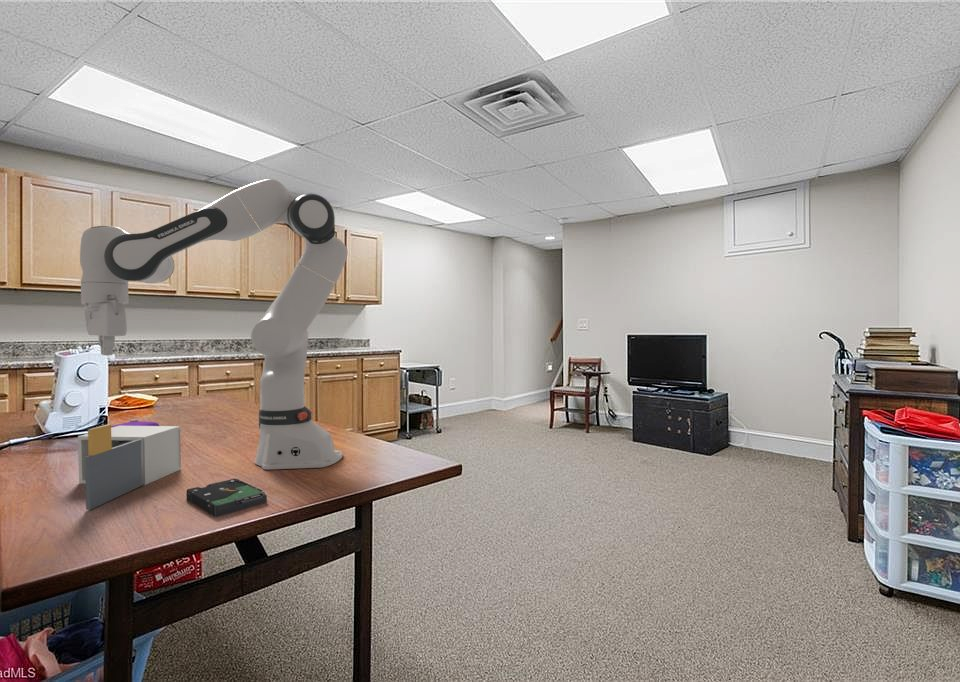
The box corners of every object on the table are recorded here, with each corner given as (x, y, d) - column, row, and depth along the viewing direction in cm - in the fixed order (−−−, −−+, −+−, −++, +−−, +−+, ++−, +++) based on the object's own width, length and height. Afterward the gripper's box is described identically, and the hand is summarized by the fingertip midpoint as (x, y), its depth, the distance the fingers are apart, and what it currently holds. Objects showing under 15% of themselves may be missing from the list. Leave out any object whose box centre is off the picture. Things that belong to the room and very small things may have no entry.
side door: (140, 484, 111) (138, 415, 110) (144, 484, 111) (143, 415, 110) (85, 509, 96) (83, 430, 95) (90, 509, 96) (88, 430, 95)
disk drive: (185, 502, 102) (215, 519, 92) (184, 489, 102) (215, 505, 92) (235, 489, 110) (268, 504, 100) (235, 477, 110) (268, 490, 100)
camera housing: (183, 468, 124) (182, 425, 124) (145, 484, 111) (144, 437, 111) (123, 467, 125) (122, 424, 125) (79, 483, 112) (77, 436, 112)
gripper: (134, 294, 109) (135, 356, 110) (111, 298, 123) (112, 353, 123) (99, 293, 105) (100, 357, 105) (79, 297, 118) (80, 354, 119)
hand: (107, 355), depth 114 cm, fingers closed
